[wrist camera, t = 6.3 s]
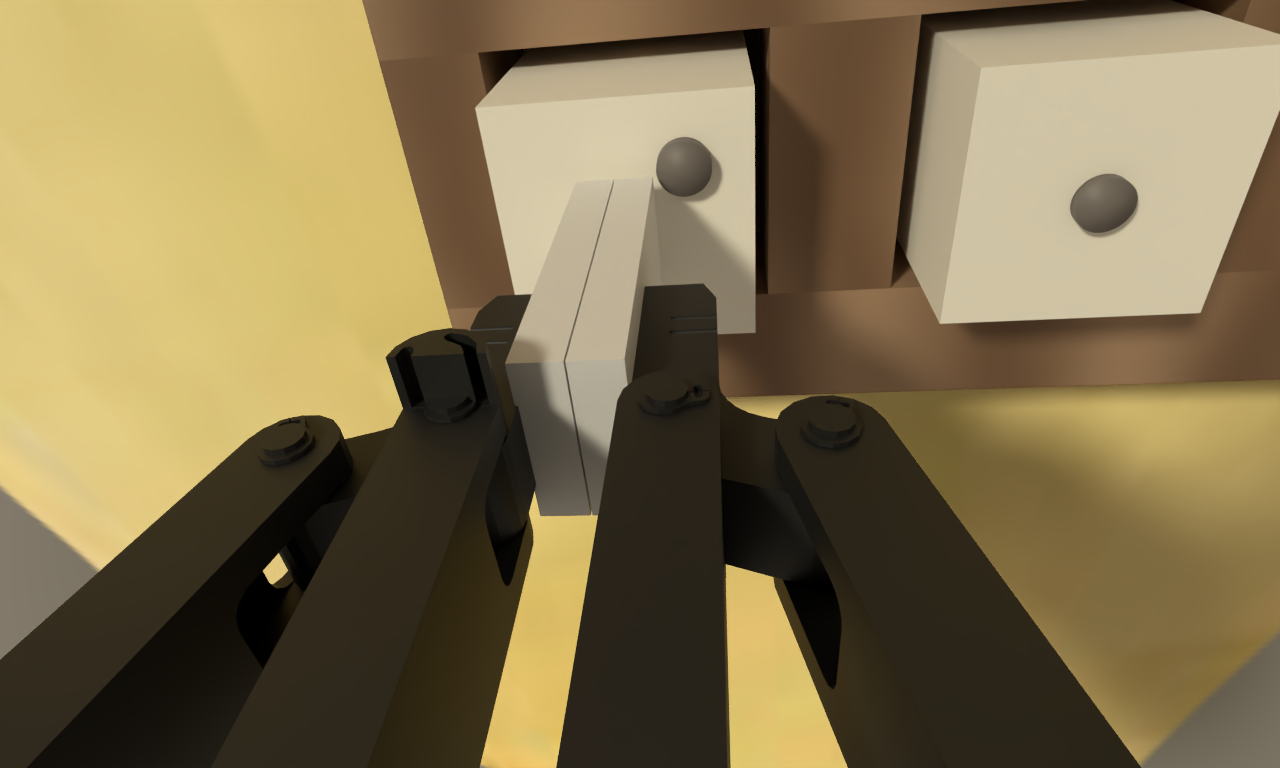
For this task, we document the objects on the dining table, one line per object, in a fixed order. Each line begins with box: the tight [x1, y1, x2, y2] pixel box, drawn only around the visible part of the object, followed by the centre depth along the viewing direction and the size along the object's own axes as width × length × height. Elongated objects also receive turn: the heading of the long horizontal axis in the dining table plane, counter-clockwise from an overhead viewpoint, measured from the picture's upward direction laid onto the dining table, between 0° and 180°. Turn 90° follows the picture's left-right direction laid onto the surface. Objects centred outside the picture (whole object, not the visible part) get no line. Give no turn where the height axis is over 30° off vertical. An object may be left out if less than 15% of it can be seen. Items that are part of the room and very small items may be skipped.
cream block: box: [896, 0, 1280, 324], centre depth 17 cm, size 5×6×6 cm
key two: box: [475, 30, 756, 334], centre depth 18 cm, size 5×6×6 cm
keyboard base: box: [362, 0, 1280, 397], centre depth 19 cm, size 30×13×4 cm, turn 95°
